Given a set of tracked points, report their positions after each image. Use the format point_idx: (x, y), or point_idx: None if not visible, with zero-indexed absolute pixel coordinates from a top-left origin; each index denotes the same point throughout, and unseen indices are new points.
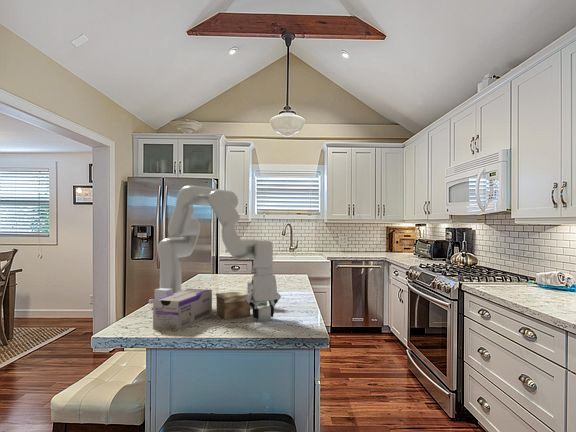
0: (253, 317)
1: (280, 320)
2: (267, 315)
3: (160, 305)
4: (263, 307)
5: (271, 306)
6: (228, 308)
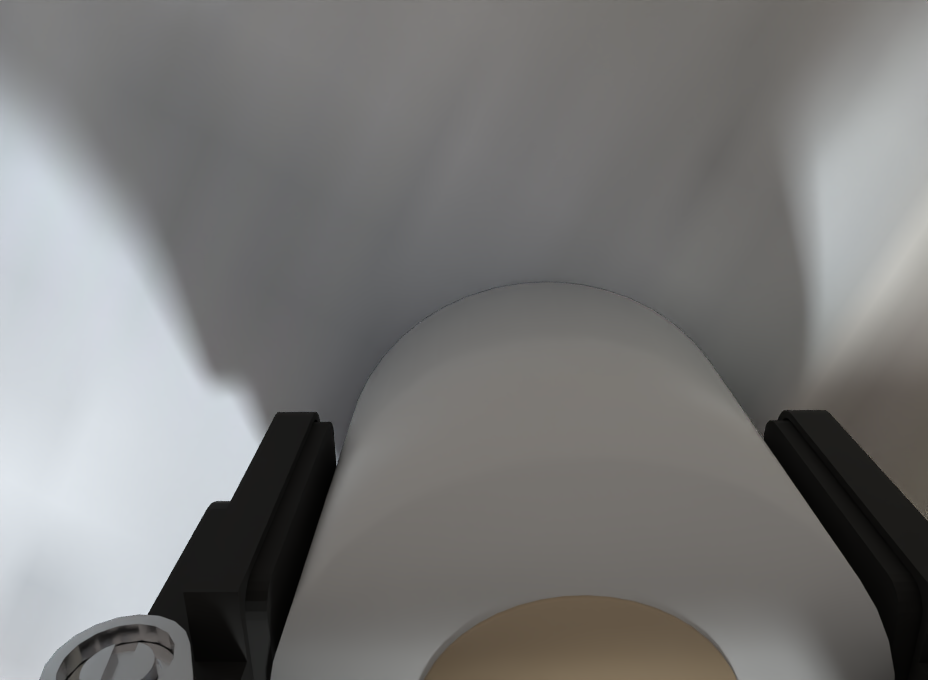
0: None
1: (150, 200)
2: (533, 341)
3: None
4: (620, 668)
5: (236, 669)
6: None
